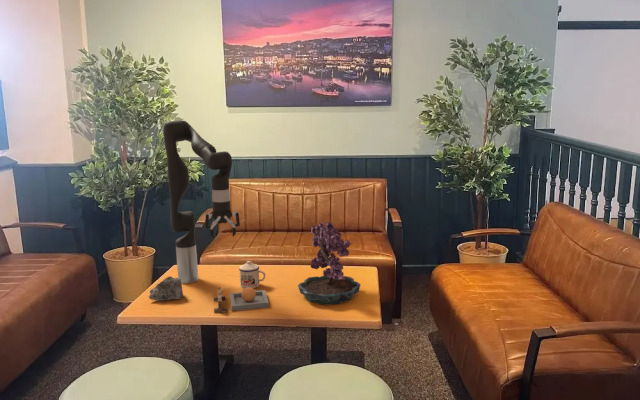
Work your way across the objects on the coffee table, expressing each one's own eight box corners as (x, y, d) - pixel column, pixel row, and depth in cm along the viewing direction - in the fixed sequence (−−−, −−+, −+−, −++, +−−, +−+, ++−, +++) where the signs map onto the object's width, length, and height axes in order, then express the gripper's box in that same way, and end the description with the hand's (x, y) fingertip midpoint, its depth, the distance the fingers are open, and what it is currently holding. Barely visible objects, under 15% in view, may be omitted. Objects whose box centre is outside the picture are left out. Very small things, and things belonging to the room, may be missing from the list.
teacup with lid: (237, 288, 246) (235, 264, 244) (243, 282, 255) (242, 258, 253) (263, 289, 244) (261, 264, 242) (268, 283, 253) (267, 258, 250)
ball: (239, 301, 230) (238, 287, 229) (251, 297, 234) (250, 284, 232) (246, 305, 225) (246, 291, 224) (258, 301, 229) (258, 287, 228)
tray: (230, 297, 235) (230, 293, 235) (265, 294, 238) (264, 289, 238) (231, 311, 221) (231, 306, 221) (268, 307, 224) (268, 302, 223)
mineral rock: (148, 302, 232) (146, 280, 230) (159, 293, 243) (157, 272, 241) (176, 304, 230) (174, 281, 228) (187, 294, 240) (185, 273, 239)
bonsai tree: (362, 309, 220) (361, 230, 213) (295, 309, 221) (292, 231, 214) (359, 279, 254) (358, 211, 248) (301, 280, 255) (298, 212, 249)
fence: (213, 298, 235) (213, 287, 234) (225, 297, 235) (224, 286, 234) (214, 313, 219) (213, 301, 218) (226, 311, 220) (226, 300, 219)
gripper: (204, 202, 224) (206, 240, 227) (239, 200, 227) (240, 237, 230) (203, 198, 231) (206, 235, 235) (237, 196, 234) (239, 233, 237)
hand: (223, 236), depth 232 cm, fingers open, 8 cm apart
